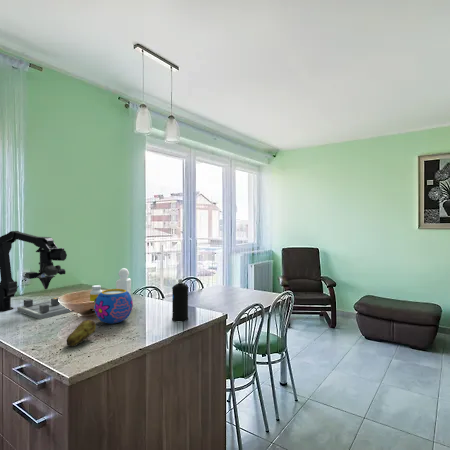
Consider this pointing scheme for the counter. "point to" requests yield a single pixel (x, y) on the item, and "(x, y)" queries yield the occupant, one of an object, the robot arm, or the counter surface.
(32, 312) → the panel
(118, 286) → the white figurine
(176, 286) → the aerosol can
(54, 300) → the handle
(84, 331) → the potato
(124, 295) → the ceramic pot
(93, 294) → the supplement bottle
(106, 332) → the counter surface
